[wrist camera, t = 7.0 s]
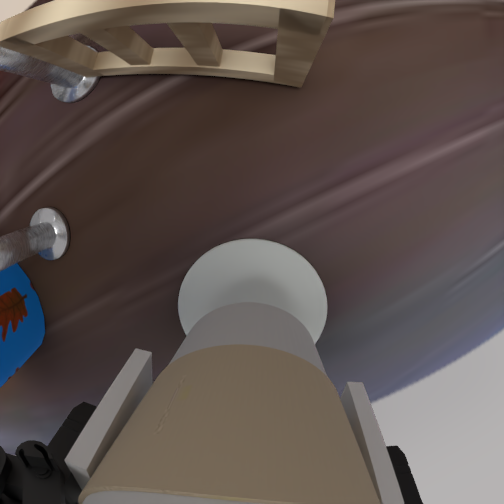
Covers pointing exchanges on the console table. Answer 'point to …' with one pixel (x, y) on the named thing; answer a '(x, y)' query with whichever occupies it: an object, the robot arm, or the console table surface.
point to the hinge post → (49, 75)
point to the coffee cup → (237, 423)
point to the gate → (184, 27)
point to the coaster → (253, 283)
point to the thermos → (18, 321)
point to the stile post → (36, 238)
